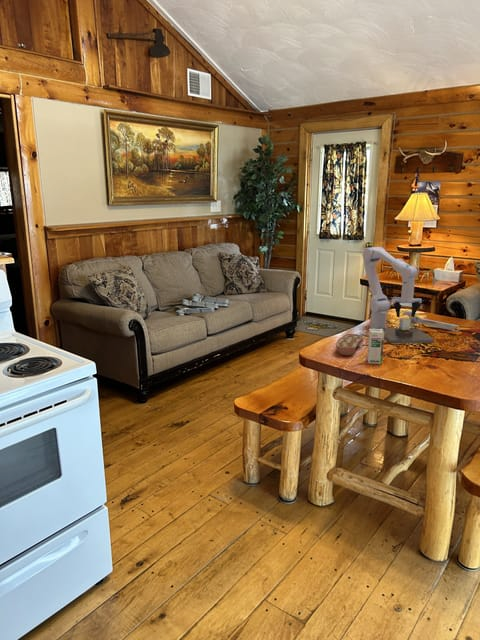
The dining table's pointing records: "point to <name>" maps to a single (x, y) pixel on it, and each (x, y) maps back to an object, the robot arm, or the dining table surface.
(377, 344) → the syrup box
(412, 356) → the dining table surface
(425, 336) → the stand
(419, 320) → the wrench
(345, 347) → the brown rounded block
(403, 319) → the grey block
